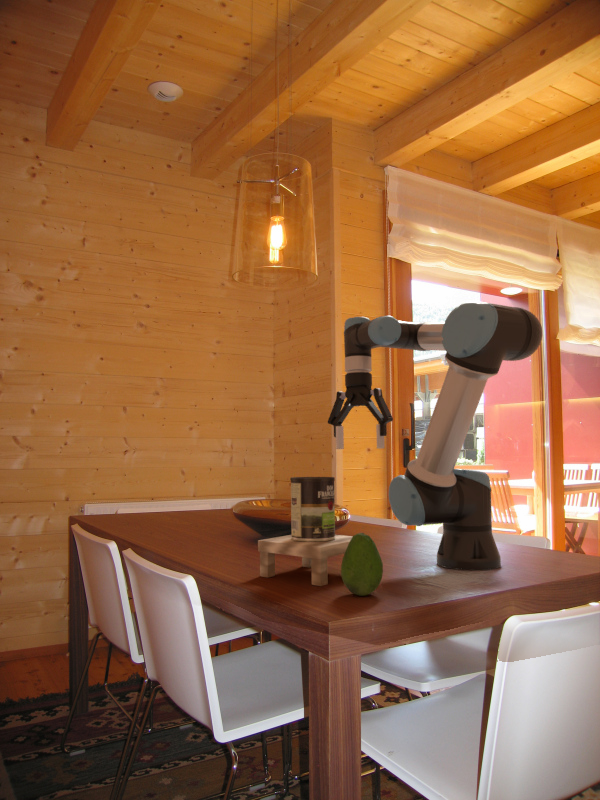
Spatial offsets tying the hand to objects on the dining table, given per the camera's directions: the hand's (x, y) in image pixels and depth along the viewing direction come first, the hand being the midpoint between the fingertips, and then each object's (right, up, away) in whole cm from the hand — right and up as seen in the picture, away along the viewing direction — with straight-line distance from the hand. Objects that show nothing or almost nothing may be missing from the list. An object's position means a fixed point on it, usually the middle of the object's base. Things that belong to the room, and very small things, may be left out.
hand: (359, 448), depth 170 cm
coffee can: (-14, -19, -29) cm, 37 cm away
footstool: (-13, -26, -30) cm, 42 cm away
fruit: (-4, -25, -50) cm, 56 cm away
